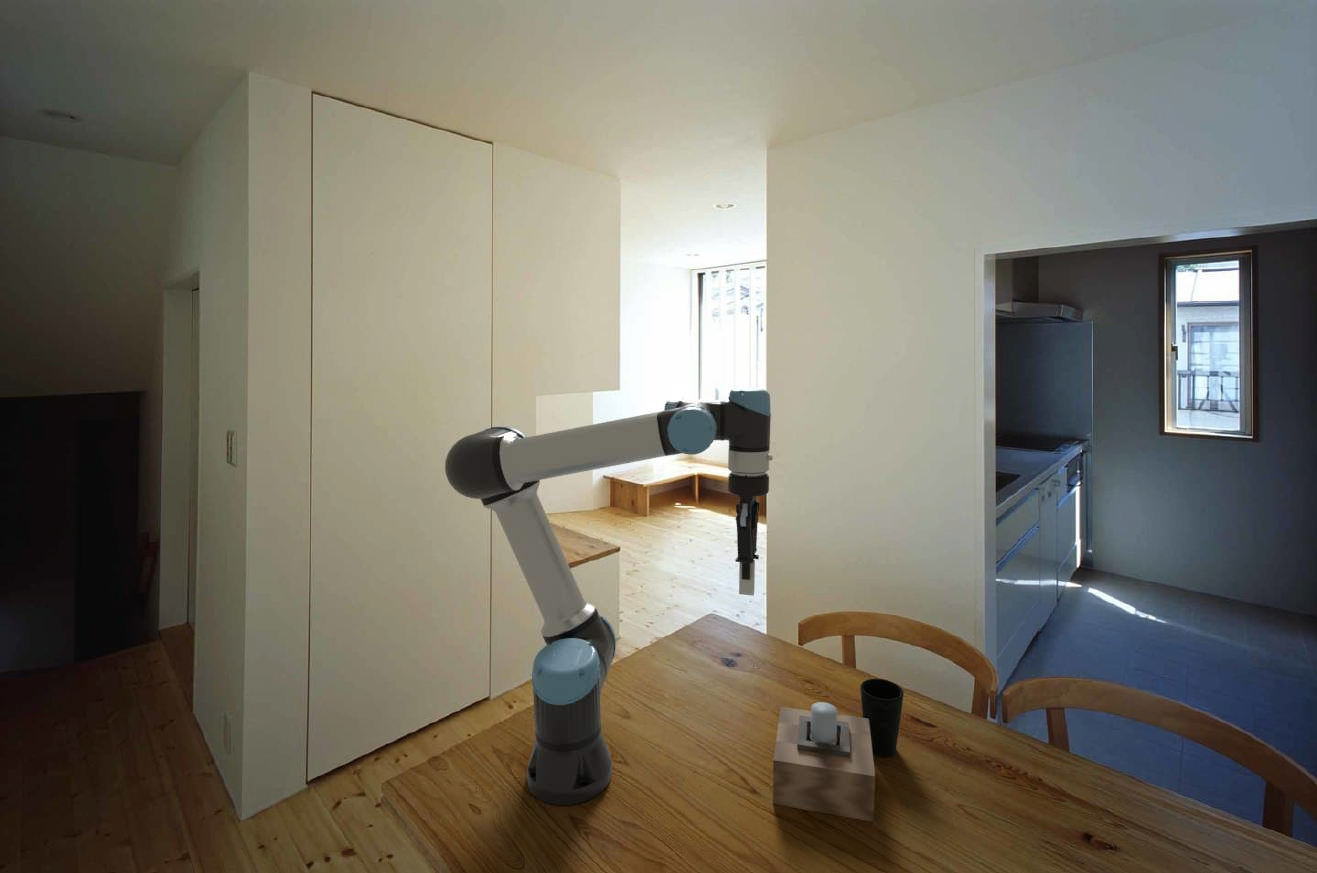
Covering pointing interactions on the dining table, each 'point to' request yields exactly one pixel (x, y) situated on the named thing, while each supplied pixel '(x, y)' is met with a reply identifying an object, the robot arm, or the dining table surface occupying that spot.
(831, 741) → the peg
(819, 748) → the socket block
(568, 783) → the robot arm
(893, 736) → the cup
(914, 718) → the dining table surface
